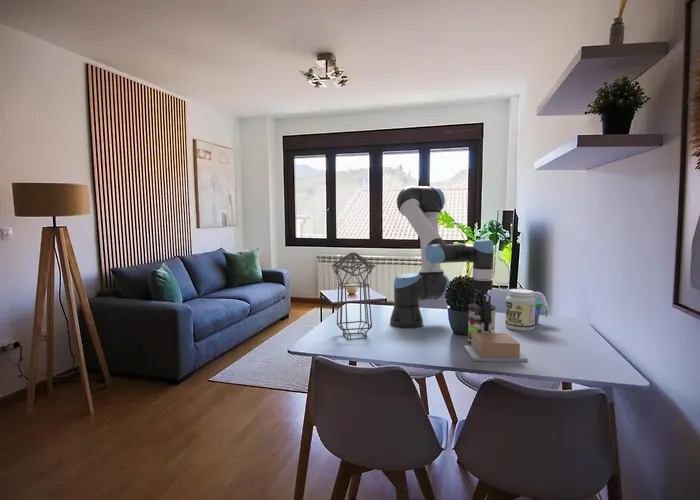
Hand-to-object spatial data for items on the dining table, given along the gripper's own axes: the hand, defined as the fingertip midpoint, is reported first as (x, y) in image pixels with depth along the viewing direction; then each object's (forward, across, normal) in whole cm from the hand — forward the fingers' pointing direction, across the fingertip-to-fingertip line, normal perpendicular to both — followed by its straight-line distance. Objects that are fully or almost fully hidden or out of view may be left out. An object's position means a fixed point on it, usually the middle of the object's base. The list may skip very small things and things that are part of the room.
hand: (481, 335), depth 160 cm
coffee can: (+2, 0, 0) cm, 2 cm away
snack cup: (+3, +32, -31) cm, 45 cm away
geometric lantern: (+3, +6, +51) cm, 51 cm away
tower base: (+2, -16, 0) cm, 16 cm away
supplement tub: (+3, +22, -23) cm, 32 cm away
